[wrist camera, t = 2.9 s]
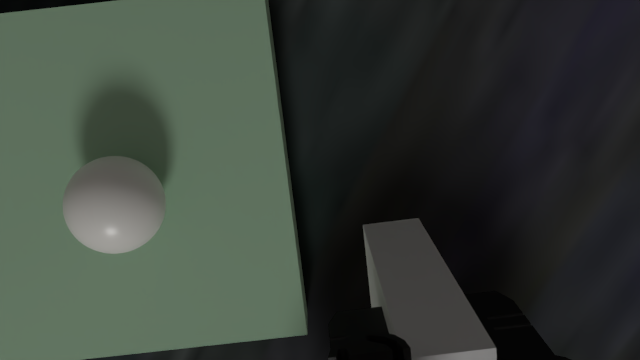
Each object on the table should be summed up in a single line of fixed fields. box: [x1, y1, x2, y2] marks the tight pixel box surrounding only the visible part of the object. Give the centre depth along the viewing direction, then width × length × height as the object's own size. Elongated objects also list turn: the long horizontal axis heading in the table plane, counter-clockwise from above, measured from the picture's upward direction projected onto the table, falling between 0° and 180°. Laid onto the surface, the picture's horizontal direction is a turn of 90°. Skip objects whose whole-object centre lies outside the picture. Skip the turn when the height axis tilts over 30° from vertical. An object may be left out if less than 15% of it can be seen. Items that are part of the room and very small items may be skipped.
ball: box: [62, 156, 166, 254], centre depth 24 cm, size 4×4×4 cm
